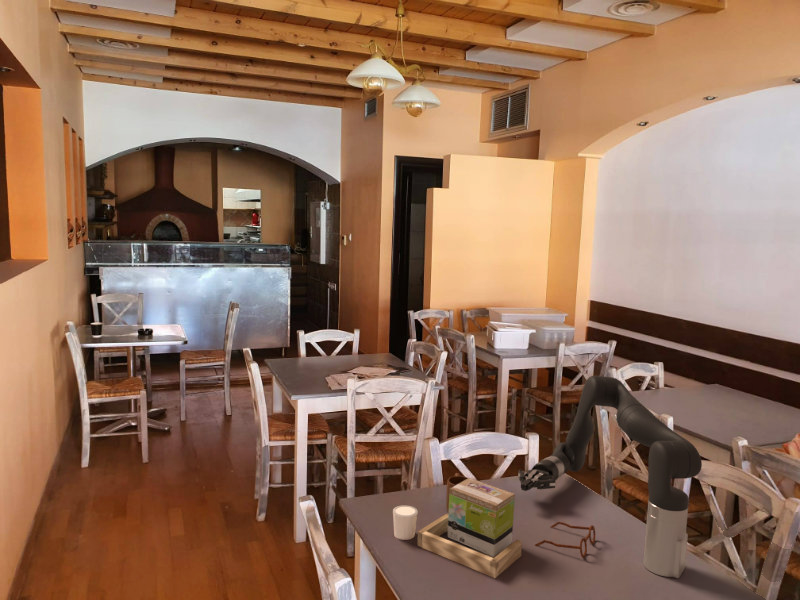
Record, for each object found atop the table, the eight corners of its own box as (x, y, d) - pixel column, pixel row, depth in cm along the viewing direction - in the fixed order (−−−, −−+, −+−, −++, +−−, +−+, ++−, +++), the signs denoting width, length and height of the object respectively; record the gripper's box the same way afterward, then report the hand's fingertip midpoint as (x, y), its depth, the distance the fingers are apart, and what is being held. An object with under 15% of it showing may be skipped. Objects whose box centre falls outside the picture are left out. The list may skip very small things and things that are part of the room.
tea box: (446, 538, 172) (448, 487, 170) (466, 525, 180) (468, 476, 178) (493, 558, 163) (496, 504, 161) (513, 544, 170) (516, 491, 169)
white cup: (395, 542, 169) (396, 517, 169) (389, 530, 176) (390, 506, 175) (419, 539, 171) (420, 515, 170) (412, 527, 178) (413, 503, 177)
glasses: (582, 561, 163) (583, 543, 163) (534, 546, 170) (535, 529, 169) (596, 540, 174) (597, 523, 174) (550, 527, 181) (551, 511, 181)
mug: (443, 498, 197) (444, 469, 196) (467, 498, 197) (469, 470, 196) (447, 516, 185) (448, 485, 184) (472, 516, 185) (474, 486, 184)
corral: (521, 555, 164) (522, 541, 164) (495, 578, 154) (495, 562, 153) (446, 527, 179) (446, 513, 178) (417, 545, 168) (417, 531, 167)
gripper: (530, 454, 206) (504, 469, 193) (568, 464, 198) (544, 481, 185) (528, 476, 207) (503, 493, 194) (567, 487, 199) (543, 505, 186)
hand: (523, 487), depth 189 cm, fingers closed
